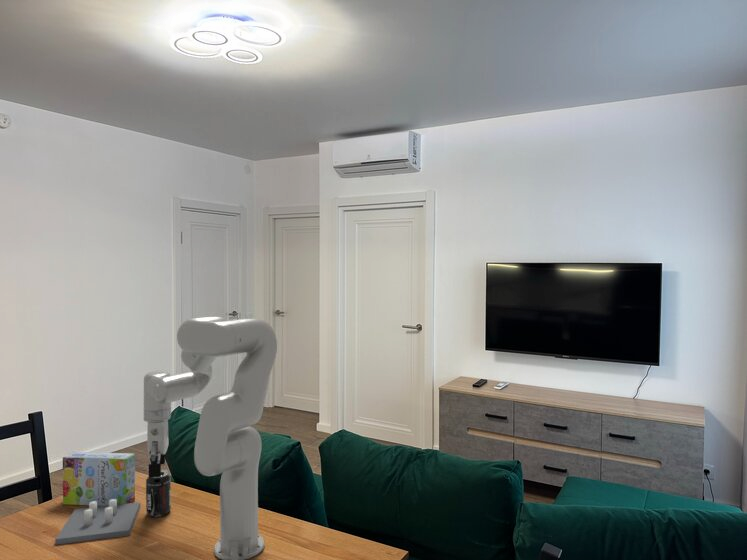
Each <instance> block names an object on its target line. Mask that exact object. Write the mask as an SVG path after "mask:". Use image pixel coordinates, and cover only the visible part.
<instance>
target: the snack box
mask: <svg viewBox="0 0 747 560" xmlns="http://www.w3.org/2000/svg"><path fill="white" fill-rule="evenodd" d="M111 499H117V505H119V504H128V503H135V500H136V454H135V453H130V452H129V453H127V452H125V453H123V452H88V451H87V452H86V451H71V453H70V452H69V454H67V455H64V456H62V505H66V506H67V505H68V506H69V505H70V506H71V505H72V506H73V505H74V506H89V503H90V502H92V501H97V507H101V506H109V500H111Z"/></svg>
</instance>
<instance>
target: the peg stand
mask: <svg viewBox="0 0 747 560" xmlns="http://www.w3.org/2000/svg"><path fill="white" fill-rule="evenodd" d="M140 509H141V501H138V502H132V503H128V504H119V505H117V499H111V500H109V506H97V501H92V502H90V503H89V505H88V507H84V508H82V507H81V508H75V509H74V510H73V512H72V513H71V514H70V516H69V517H68V519H67V521H66V522H65V524H64V526H63V527H62V528H61V530H60V532H59V533H58V534H57V536H56V537H55V539H54V540H55V543H54V544H55V545H65V544H72V543H73V544H74V543H80V542H81V543H82V542H89V541H97V540H105V539H113V538H114V539H115V538H120V537H129V536H130V535H131V532H132V530H133V528H134V524H135V522H136V520H137V517H138V515H139V512H140Z"/></svg>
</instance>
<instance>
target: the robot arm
mask: <svg viewBox="0 0 747 560" xmlns="http://www.w3.org/2000/svg"><path fill="white" fill-rule="evenodd" d="M176 341H177V344H178V346H179V347H180V349H182V350H181V355H180V358H181V362H182V363H183V364H184V365H185V367H187V369H189V371H187V372H186V371H185V372H182V373H176V374H172V375H171V374H170V373H169V372H168V371H163V370H159V371H157V370H155V371H150V372H148V373H146V374H145V375H144V376H143V377H144V378H143V421H144V422H146V423H147V427H146V429H147V433H146V436H147V439H146V441H147V443H146V444H147V447H146V451H147V456H149V458H148V459H149V461H148V474H149V476H148V477H149V478H153V477H160V476H161V470H162V465H165V463H166V453H167V451H168V447H169V420H170V419H171V417H172V406H171V405H172V403H173V402H178V401H181V400H182V401H183V400H186V399H190V398H193V397H196V396H198V395H199V394H201V392H202V391H204V389H205V388H206V387H207V386H208V385H209V383H210V382H211V380H212V375H213V367H212V364H213V362H214V361H215V360H216V358H218V357H221V358H222V357H227V356H233V355H238V354H240V355H241V354H244V353H246V355H245V357H244V358H243V360H242V361H241V362H240V363H239V365H238V367H237V369H236V371H235V375H234V380H233V383H232V388H231V390H229V391H228V392H225V393H221V394H217V395H215V396H212V397H211V398H209V399H208V400H207V401H206V402H205V404H204V405H203V406H202V409H201V411H200V414H199V415H200V416H199V420H198V426H197V432H196V438H195V443H194V450H193V459H194V460H193V461H194V466H195V468H196V470H197V472H198V473H200V474H201V475H202V476H206V477H213V476H217V475H221V478H220V483H219V518H220V519H219V522H220V526H219V528H220V530H219V531H220V533H219V534H220V537H219V539H218V540H217V542H216V543H214V547H213V551H214V555H215V556H216V557H217V559H220V560H249V559H251V558H253V557H255V556H257V555H258V554H260V553H261V552H262V551H263V549H264V547H265V541H264V540H265V539H264V538H263V536H261V535H260V534H259V503H258V502H259V492H258V490H259V489H258V488H259V482H258V481H259V466H260V465H259V463H260V460H261V453H262V437H261V434H260V433H259V431H258V430H257V429H255V427H253V425H255V424H257V423H258V422H259V421H260V420H261V417H262V415H263V411H264V406H265V402H266V397H267V393H268V392H267V391H268V388H269V382H270V377H271V373H272V369H273V367H274V364H275V360H276V357H277V352H278V341H277V335H276V333H275V330H274V329H273V327H272V326H271V325H270V323H268V322H267V321H265V320H263V319H259V318H241V319H233V320H228V319H226V318H224V317H222V316H206V317H195V318H189V319H187V320H184V321H183V322H182V324H180V325H179V327H178V330H177V332H176Z"/></svg>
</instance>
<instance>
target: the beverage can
mask: <svg viewBox="0 0 747 560" xmlns="http://www.w3.org/2000/svg"><path fill="white" fill-rule="evenodd" d="M147 475H148V477H147V478H146V479H145V504H146V506H145V512H146V514H147V515H148V516H150V517H152V518H160V517H162V516H165V515H167V514H168V513H169V512H170V511H171V509H172V483H171V482H172V481H171V480H172V478H171V475H170V474H169V471H168V470H166V469H161V476H160V477H153V478H149V473H148V474H147Z"/></svg>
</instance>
